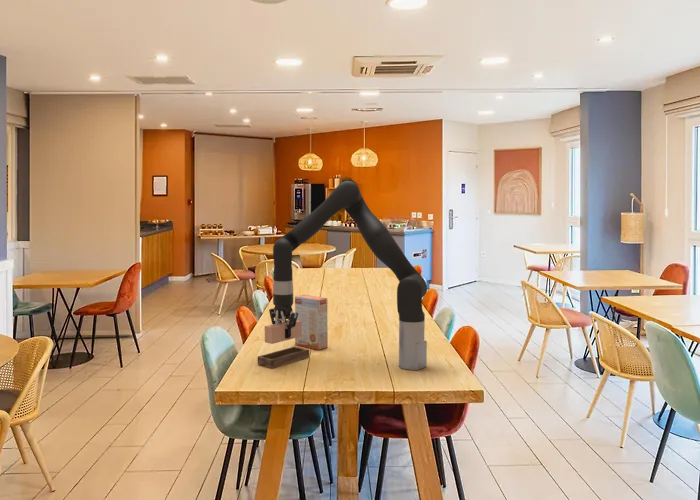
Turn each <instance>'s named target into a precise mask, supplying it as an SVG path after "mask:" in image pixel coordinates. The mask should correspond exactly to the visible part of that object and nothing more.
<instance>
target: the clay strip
mask: <svg viewBox="0 0 700 500" xmlns="http://www.w3.org/2000/svg"><path fill="white" fill-rule="evenodd" d="M287 324H288V322H287ZM292 324H293V323H292ZM288 325H289V324H288ZM298 337H302V321H298V320H297V321H296V325H295V327H292V328H291V337H290V338H288V339H286V338H285V325H284V323H283V321H282V323H277V324H269V325H264V343H267V344H270V345H273V344H277V343H283V342H286V341H289V340H293V339H295V338H298Z"/></svg>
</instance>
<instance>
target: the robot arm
mask: <svg viewBox="0 0 700 500" xmlns="http://www.w3.org/2000/svg"><path fill="white" fill-rule="evenodd" d="M342 209H343V210H344V211H345V212H346V213H347V214H348V215H349V217H350V218H351V219H352V220H353V222H354V223H355V225H356V227H357V228H358V231H359V233H360V235H361V236H362V238H363V240H364V241H365V243H366V245H367V246H368V248H369V250H370V251H371V252H372V253H373V255H374V256H375V257H376V258H377V259H378V260H379V261H380V262H382V264H384V265H385V266H386V267H387V268H388V269H390V271H391V272H392V273H393V275H394V276H395V278H396V279H397V280H398V284H397V289H396V305H397V307H396V308H397V309H396V310H397V313H398V317H399V318H398V367H399V368H401V369H404V370H413V371H419V370H422V369H424V368H426V367H427V363H428V362H427V356H428V355H427V349H428V345H427V344H428V343H427V341H426V340H425V326H426V325H425V318H426V317H425V312H424V310H423V298H424V297H425V296H426V295H427V292H428V286H427V282H426V280H425V278H424V277H423V276H422V275H421V274H420V273H419V271H418V270H416V268H415V267H414V266H413V265H412V263H411V262H410V261H409V260H408V258H407V257H406V255H405V254H404V252H403V250H402V249H401V247H400V246H399V244H398V243H397V241H396V240H395V238H394V237H393V236H392V234H391V233H390V231H389V230H388V229H387V227H386V226H385V224H383V223H382V222H381V220H380V219H379V218H378V217H377V216H376V215H375V214H374V213H373V212H372V210H370V208H369V206H368V204H367V203H366V201H365V199H364V197H363V196H362V194H361V191H360V187H359V186H358V185H357V183H355V182H354V181H351V180H345V181H342V182H340V183H339V185H337V187H335V188H334V190H333V191H332V192H331V193H330V194H329V196H328V197H326V199H325V200H324V201H323V202H322V203H320V205H318V206H317V207H316V208H315V209H314V210H313V211H311V212H310V213H309V214H308V215H306V217H305V218H303V219H302V220H301V221H300V222H298V223H297V224H296V225H295V226H293V228H292V229H290V231H288V232H286V234H284V235H282V236H281V237H280V238H279V239H277V240H276V241H275V242H274V244H273V247H272V254H273V256H272V257H273V284H272V305H273V306H274V308H269V311H268V312H269V316H270V322H271V325H273V324H277V323H282V322H283V323H284V325H285V338H286V339H288V338H290V337H291V328H292V327H295V325H296V321H297V317H298V313H297V312H296V313H295V311H293V305H294V283H293V281H294V280H293V266H292V264H293V262H292V261H293V252H294V251H295V250H297V248H298V247H300V246H301V245H303V244H304V243H306V242H308V241H309V240H310V239H311V238H313V236H315V235H316V234H317V233H318V232H319V231H320V230H322V228H323V227H324V226H325V225H326V224H327V222H328V221H329V220H330V219H331V218H332V217H334V215H335V214H337V213H338V212H339V211H342ZM287 322H288V324H289V325H288V324H287ZM292 323H293V324H292Z"/></svg>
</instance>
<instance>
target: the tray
mask: <svg viewBox="0 0 700 500" xmlns="http://www.w3.org/2000/svg"><path fill="white" fill-rule="evenodd" d="M309 358H310V349H307V348H304V347H300V346H299V347H298V346H296V345H295V346H291V347H288V348H284V349H280V350H277V351H273V352H269V353H266V354H262V355H259V356H257V365H258V366H262V367H265V368H269V369H276V368H278V367H282V366H286V365H288V364H293V363H295V362H299V361H302V360H305V359H309Z"/></svg>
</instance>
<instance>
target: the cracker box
mask: <svg viewBox="0 0 700 500" xmlns="http://www.w3.org/2000/svg"><path fill="white" fill-rule="evenodd" d="M294 312H295V313H296V312H297V313H298V317H297V320H298V321H302V337H298V338H294V339H295V341H294V343H295V346H299V347H302V348H306V349H307V348H309V349H312V350H316V351H320V350H324V349H328V345H329V343H328V341H329V339H328V333H329V332H328V329H329V328H328V326H329V325H328V298H327V297H323V296H316V295H315V296H314V295H309V294H300V295H295V296H294Z"/></svg>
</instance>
